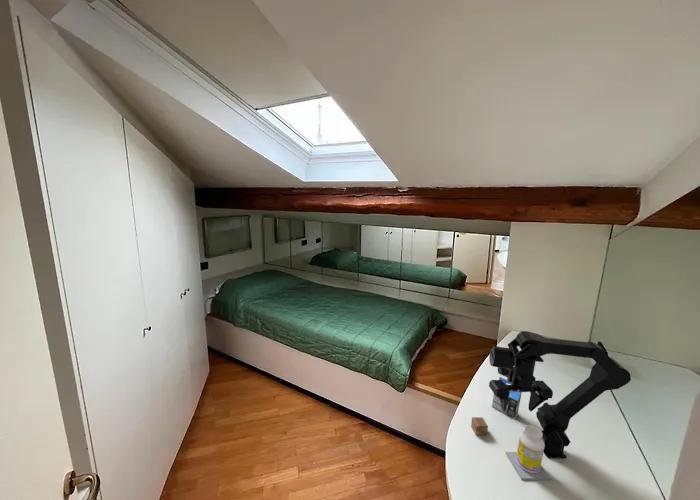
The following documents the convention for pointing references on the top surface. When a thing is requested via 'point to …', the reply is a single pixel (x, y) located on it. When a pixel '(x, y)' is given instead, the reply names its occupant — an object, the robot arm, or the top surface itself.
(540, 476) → the slate pad
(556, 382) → the top surface
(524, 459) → the supplement bottle
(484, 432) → the walnut block
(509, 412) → the label tape cartridge
